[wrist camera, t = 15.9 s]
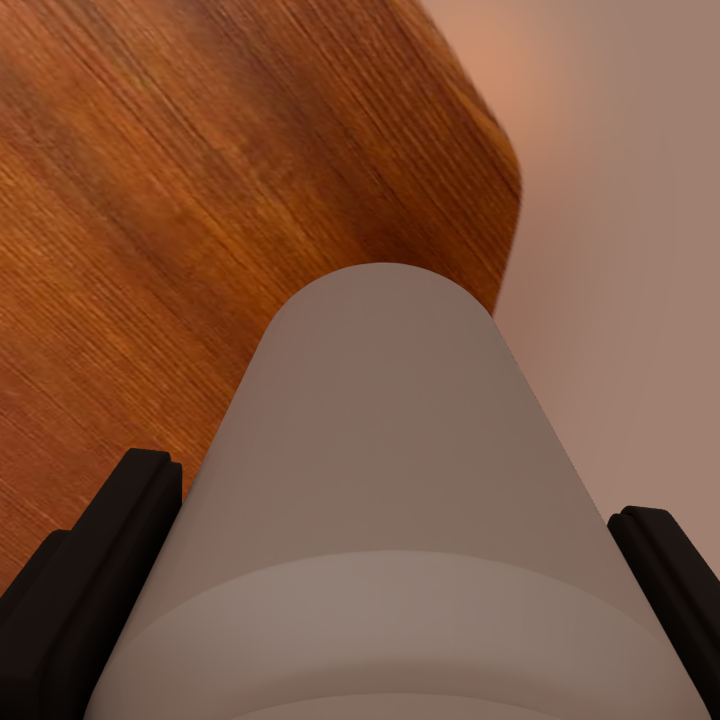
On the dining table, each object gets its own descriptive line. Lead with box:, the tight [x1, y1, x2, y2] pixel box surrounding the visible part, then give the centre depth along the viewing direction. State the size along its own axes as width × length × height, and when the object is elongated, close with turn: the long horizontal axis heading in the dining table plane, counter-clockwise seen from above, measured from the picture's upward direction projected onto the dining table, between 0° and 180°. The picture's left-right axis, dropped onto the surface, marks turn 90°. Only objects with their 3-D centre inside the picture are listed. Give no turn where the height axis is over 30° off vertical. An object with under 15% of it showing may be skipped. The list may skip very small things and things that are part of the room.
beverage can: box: [83, 263, 711, 720], centre depth 10 cm, size 6×6×12 cm
